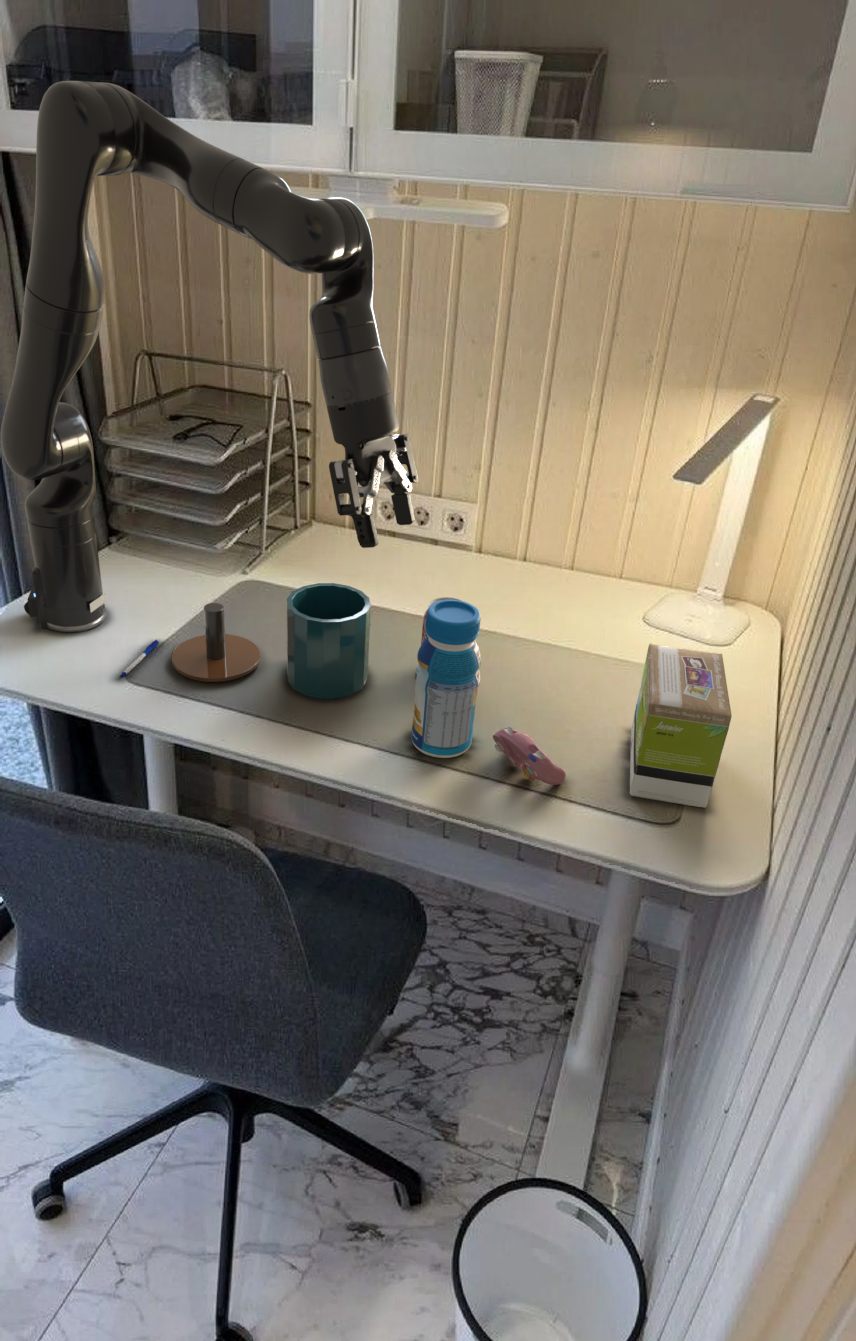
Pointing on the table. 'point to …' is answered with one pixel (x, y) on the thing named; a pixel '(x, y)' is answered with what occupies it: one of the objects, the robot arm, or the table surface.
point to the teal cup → (328, 640)
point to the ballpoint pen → (140, 658)
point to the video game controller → (528, 756)
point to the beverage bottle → (447, 680)
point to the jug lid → (215, 651)
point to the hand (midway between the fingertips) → (388, 535)
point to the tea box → (679, 725)
